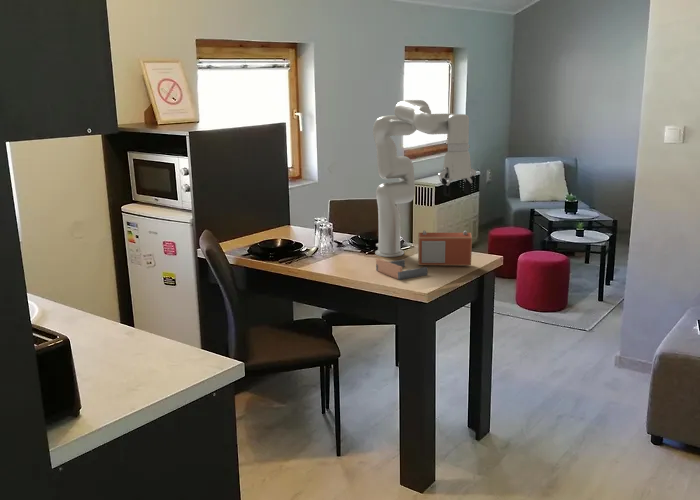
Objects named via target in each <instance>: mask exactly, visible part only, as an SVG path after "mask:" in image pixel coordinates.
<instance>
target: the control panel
mask: <svg viewBox="0 0 700 500" xmlns="http://www.w3.org/2000/svg"><path fill="white" fill-rule="evenodd" d="M417 239H418V243H417V244H418V245H417V246H418V248H417V255H418V256H417V258H418V259H417V260H418V261H417V266H472V253H473V252H472V251H473V249H472V248H473V235H472V232H468V231H467V230H464V231H463V232H427V231H426V230H423V231H422V232H418V238H417Z"/></svg>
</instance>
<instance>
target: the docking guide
mask: <svg viewBox="0 0 700 500" xmlns="http://www.w3.org/2000/svg"><path fill="white" fill-rule="evenodd" d="M375 264H376V265H375V267H376V268H375V270H376V272H378V273H381V274H383V275H385V276H387V277H391V278H394V279H396V280H399V281H402V280H405V279H406V280H407V279H412V278H417V277H423V276H427V275H428V266H423V267H416V268H411V269H406V270H403V267H405V266H406V260H405V259H399V260H391V261H386V260H384V259H380V258H376V259H375Z"/></svg>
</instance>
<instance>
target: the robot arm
mask: <svg viewBox="0 0 700 500" xmlns="http://www.w3.org/2000/svg"><path fill="white" fill-rule="evenodd" d="M393 113H394V114H395V115H394V114H392V115H391V114H389V115H383V116H380V117H378V118H377V119H376V120H375V121H374V123H373V126H372V127H373V128H372V133H373V135H372V136H373V139H374V142H375V146H376V161H377V171H378V172H377V173H378V176H379V177H380V178H381V179H383V180H395V179H397V180H398V181H390V182H389V181H388V182H383V183H381V184H379V185H378V186H377V187H376V189H375V197H376V198H375V199H376V203H377V213H378V242H377V243H375V247H377V250H375V251H374V253H375V255H376V256H378V257H382V258H384V257H385V258H395V257H401V256H403V255H404V253H405V252H404V250H403V249H401V212H400V210H399V209H398V206H397V205H398V204H406V203H411V202H412V201H413V200H414V198H415V195H416V194H415V193H416V186H415V185H416V184H415V168H414V164H413V162H412V160H411V158H409V157H408V156H405V155H400V156H398V155H397V154H398V153H397V145H396V143H395V141H394V139H393V138H392V137H396V136H398V137H399V136H400V137H402V136H410V135H412V134H414V133H415V132H416V131H419V132H421V133H424V134H427V135H447V151H446V152H445V155H444V159H443V167H442V171H441V170H440V172H438V173H437V176H438V178H439V181H440V182H441V184H442V186H443V191H442V192H443V196H444V197H451V185H450V184H451V183H452V181H457V180H463V181H464V183H463V194H466V195H471V191H472V189H471V188H472V183H473V181H474V179H475V177H476V174H477V170H476V169H475V168H472V166H471V165H472V164H471V163H472V162H471V154H470V151H469V149H470V147H471V145H470V144H469V138H470V137H469V136H470V134H469V133H470V128H469V127H470V117H469V116H468V115H467V114H466V113H465V114H464V113H432V110H431V108H430V105H429V104H428V103H427V101H425V100H422V99H405V100H401V101H399V102H397V104H396V105H395V107H394V112H393Z"/></svg>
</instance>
